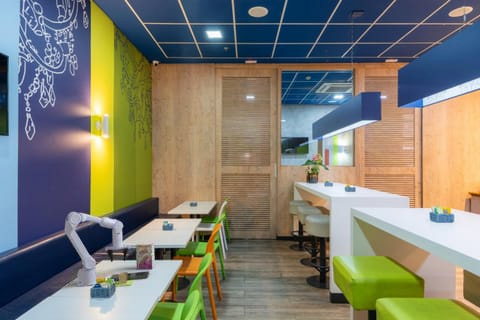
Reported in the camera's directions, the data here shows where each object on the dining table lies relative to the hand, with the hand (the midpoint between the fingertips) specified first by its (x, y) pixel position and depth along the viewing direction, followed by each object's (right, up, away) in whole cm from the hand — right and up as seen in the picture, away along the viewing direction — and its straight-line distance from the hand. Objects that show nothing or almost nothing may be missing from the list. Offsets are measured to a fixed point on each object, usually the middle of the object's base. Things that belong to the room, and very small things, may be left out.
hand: (118, 260), depth 190 cm
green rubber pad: (+9, -9, -13) cm, 18 cm away
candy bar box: (+14, -9, +12) cm, 20 cm away
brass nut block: (+8, -9, -13) cm, 18 cm away
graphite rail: (+9, -9, -5) cm, 14 cm away
